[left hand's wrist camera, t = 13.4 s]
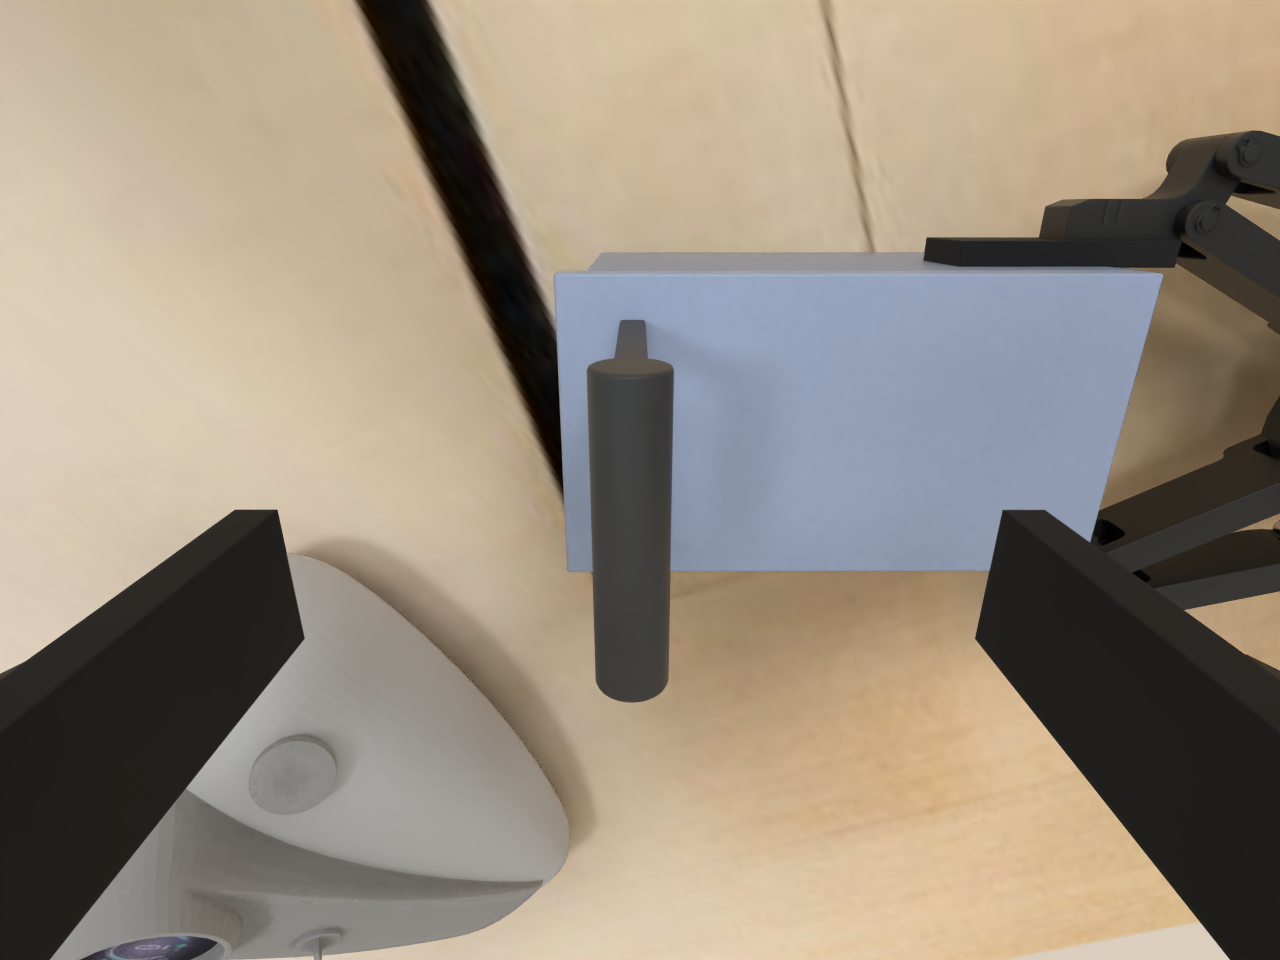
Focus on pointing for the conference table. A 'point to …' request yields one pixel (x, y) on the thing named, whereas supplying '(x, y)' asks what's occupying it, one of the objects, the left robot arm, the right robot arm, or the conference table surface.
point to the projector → (340, 808)
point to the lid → (825, 425)
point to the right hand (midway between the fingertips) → (918, 402)
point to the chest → (793, 262)
